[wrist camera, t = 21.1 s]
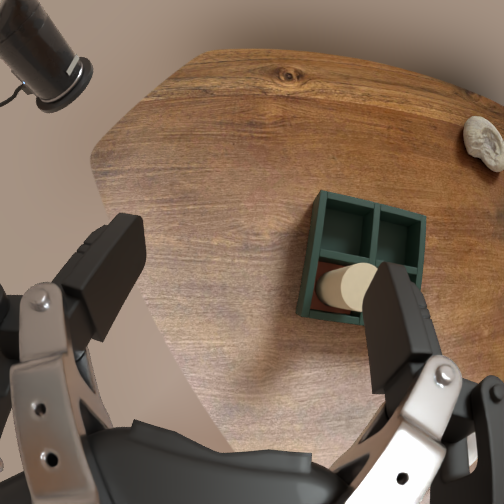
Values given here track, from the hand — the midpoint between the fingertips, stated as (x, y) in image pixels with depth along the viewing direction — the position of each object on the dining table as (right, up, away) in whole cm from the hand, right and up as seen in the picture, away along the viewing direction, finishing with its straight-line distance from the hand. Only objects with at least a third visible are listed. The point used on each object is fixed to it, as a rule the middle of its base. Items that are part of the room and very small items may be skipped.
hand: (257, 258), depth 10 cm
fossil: (+39, +18, +27) cm, 50 cm away
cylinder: (+9, -4, +23) cm, 25 cm away
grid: (+13, -1, +24) cm, 27 cm away
